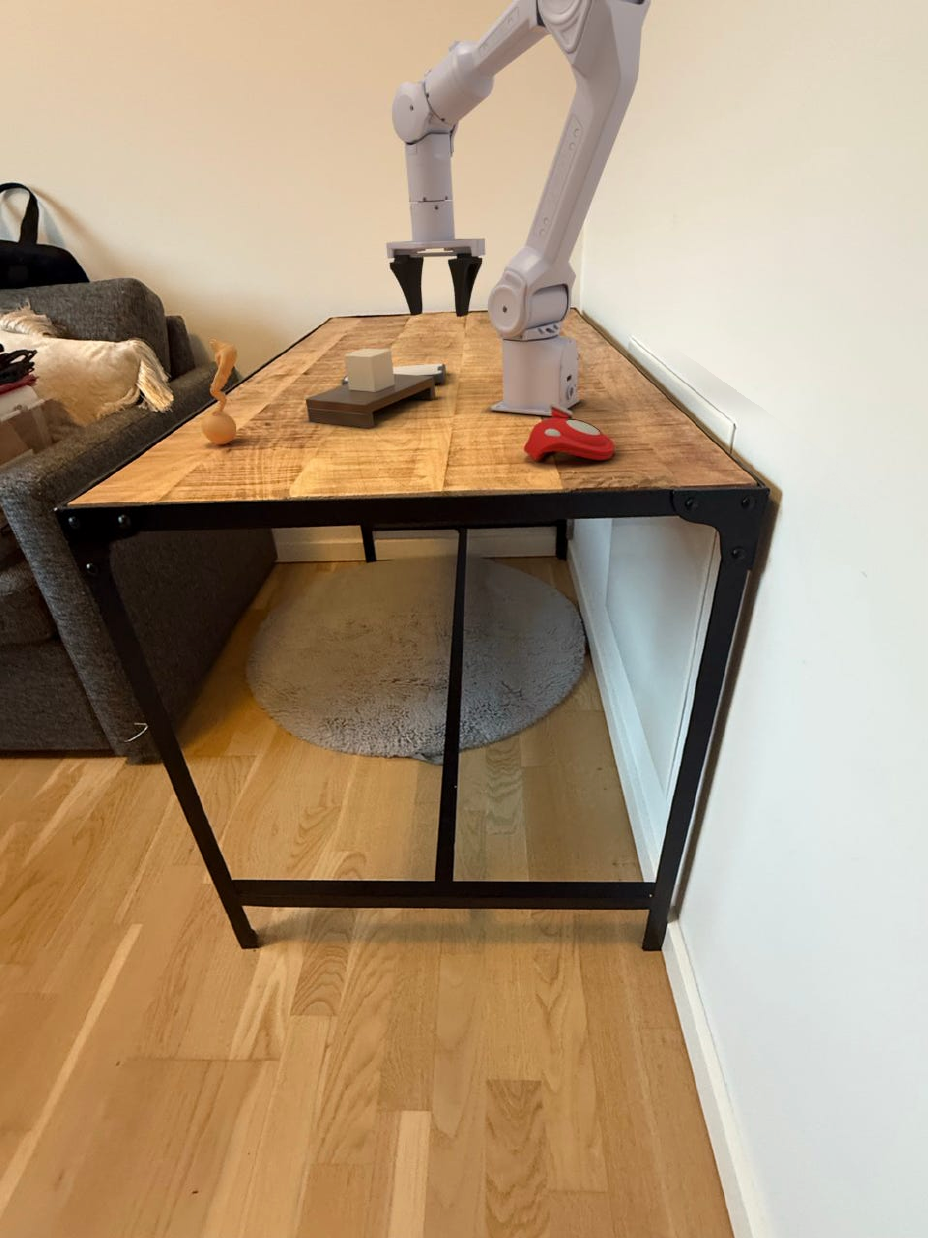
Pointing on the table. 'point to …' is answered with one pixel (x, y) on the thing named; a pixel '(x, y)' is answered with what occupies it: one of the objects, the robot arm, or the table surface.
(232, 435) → the figurine
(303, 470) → the table surface
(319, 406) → the shelf
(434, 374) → the phone case
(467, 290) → the robot arm
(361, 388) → the block
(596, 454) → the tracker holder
